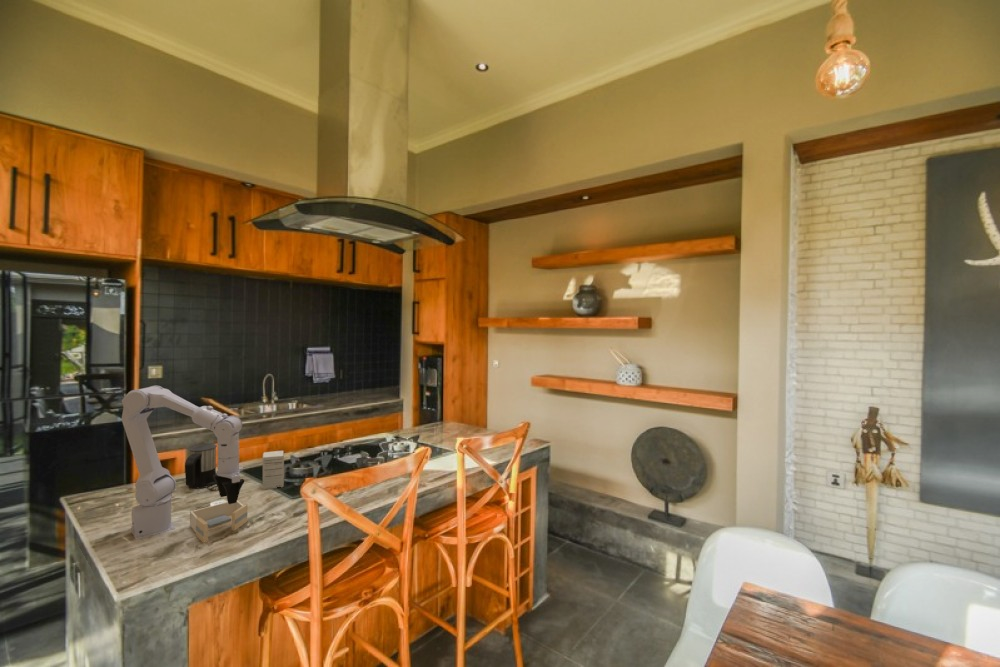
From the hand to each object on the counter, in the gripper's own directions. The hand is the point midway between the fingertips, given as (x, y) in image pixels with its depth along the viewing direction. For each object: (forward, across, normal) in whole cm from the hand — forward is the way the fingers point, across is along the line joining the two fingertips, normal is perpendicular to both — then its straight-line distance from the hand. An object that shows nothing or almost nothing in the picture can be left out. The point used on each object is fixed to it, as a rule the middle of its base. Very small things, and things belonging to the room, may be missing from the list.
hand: (228, 499), depth 137 cm
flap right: (+9, -2, -3) cm, 9 cm away
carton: (+9, +5, +2) cm, 10 cm away
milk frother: (+9, +44, -7) cm, 45 cm away
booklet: (+8, +5, +2) cm, 10 cm away
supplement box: (+9, +27, -24) cm, 37 cm away
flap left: (+9, -3, +8) cm, 12 cm away
